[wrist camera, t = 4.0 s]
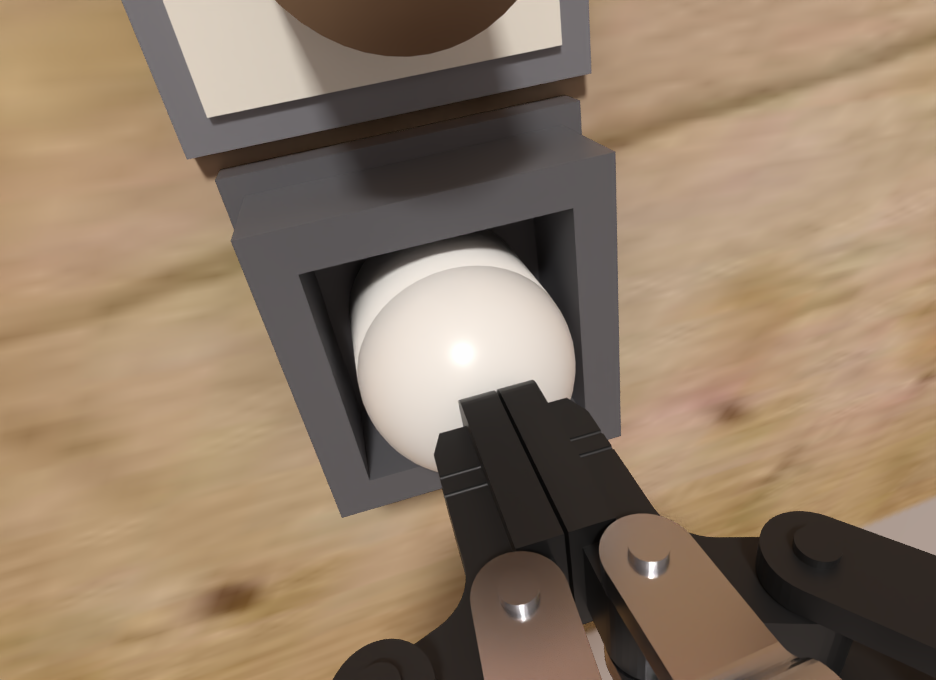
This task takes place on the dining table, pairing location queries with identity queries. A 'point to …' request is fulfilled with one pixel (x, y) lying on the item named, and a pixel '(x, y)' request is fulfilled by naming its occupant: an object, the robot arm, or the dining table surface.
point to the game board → (331, 68)
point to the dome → (451, 336)
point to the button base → (416, 223)
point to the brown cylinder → (397, 22)
